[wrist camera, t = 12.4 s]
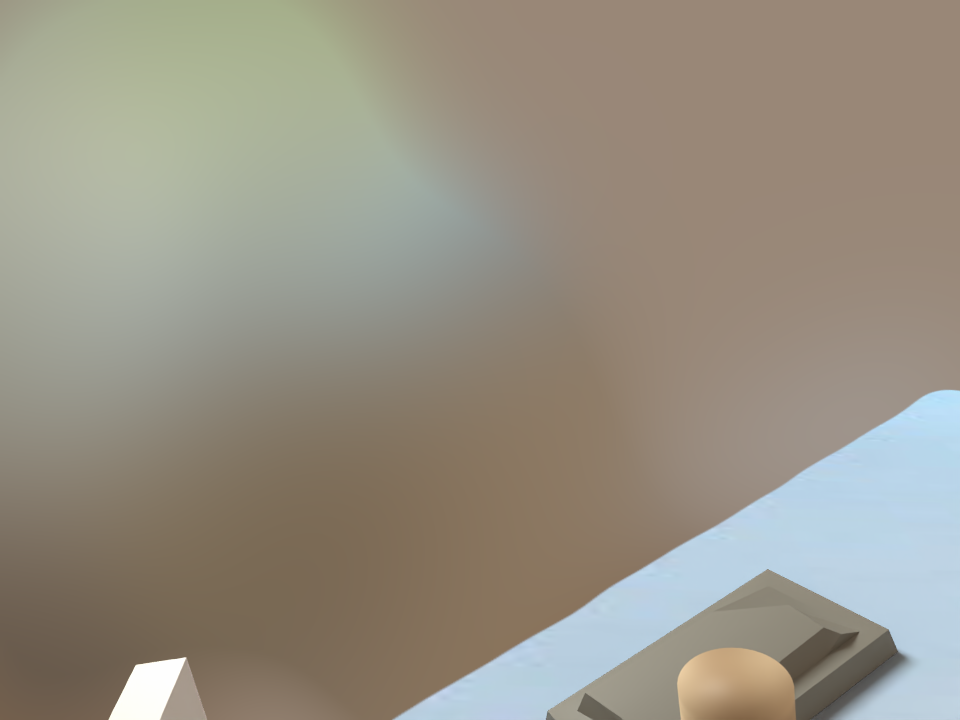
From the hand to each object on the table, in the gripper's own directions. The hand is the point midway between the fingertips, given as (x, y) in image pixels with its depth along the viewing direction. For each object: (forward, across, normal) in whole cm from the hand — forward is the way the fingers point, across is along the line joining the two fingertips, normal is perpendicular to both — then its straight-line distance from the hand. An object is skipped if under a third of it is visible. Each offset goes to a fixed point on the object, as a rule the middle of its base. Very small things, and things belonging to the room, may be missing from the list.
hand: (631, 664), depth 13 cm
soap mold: (+32, +9, -31) cm, 45 cm away
